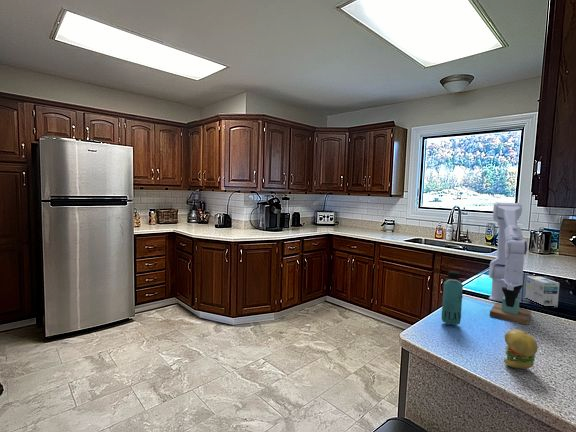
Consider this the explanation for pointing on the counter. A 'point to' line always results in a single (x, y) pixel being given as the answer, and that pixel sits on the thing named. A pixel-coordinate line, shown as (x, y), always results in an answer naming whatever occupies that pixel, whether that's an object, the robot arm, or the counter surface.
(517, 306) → the teal cube
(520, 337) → the hamburger
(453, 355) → the counter surface
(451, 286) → the beverage bottle
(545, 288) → the light bulb box
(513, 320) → the walnut base
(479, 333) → the counter surface
